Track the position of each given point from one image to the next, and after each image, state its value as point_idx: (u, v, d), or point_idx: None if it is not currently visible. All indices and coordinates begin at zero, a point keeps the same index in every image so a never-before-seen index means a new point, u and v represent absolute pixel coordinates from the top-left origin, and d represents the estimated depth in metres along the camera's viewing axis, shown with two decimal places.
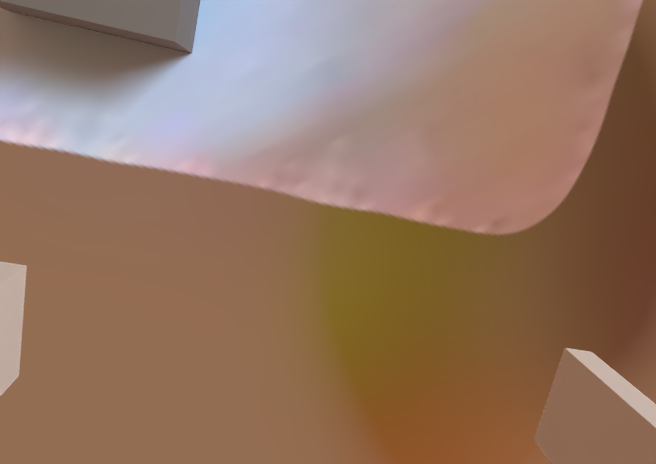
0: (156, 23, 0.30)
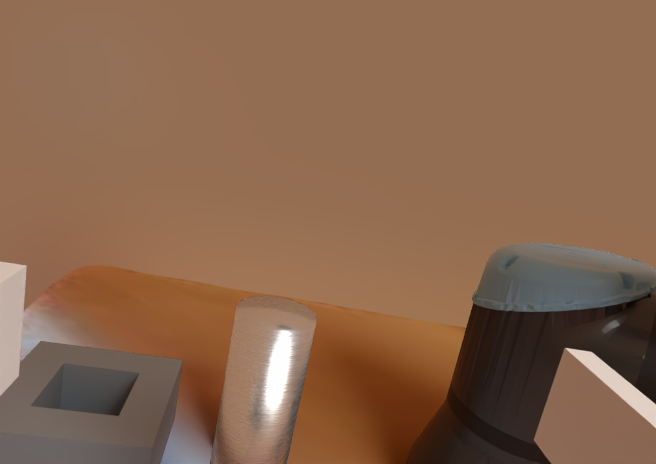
0: None
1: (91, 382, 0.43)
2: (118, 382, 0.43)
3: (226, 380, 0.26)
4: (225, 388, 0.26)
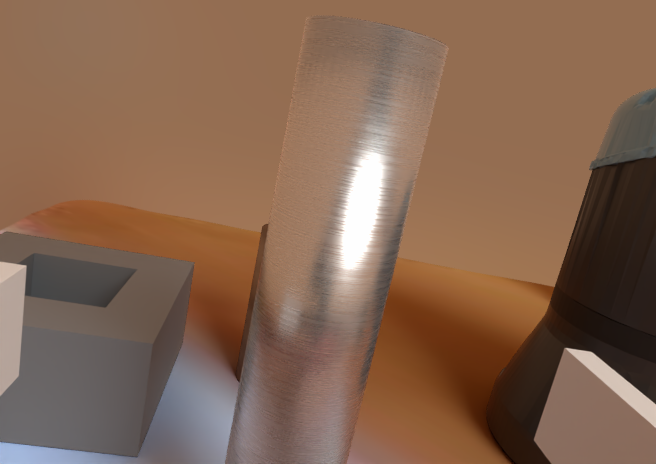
0: None
1: (71, 282, 0.32)
2: (107, 281, 0.32)
3: (286, 155, 0.14)
4: (284, 170, 0.15)
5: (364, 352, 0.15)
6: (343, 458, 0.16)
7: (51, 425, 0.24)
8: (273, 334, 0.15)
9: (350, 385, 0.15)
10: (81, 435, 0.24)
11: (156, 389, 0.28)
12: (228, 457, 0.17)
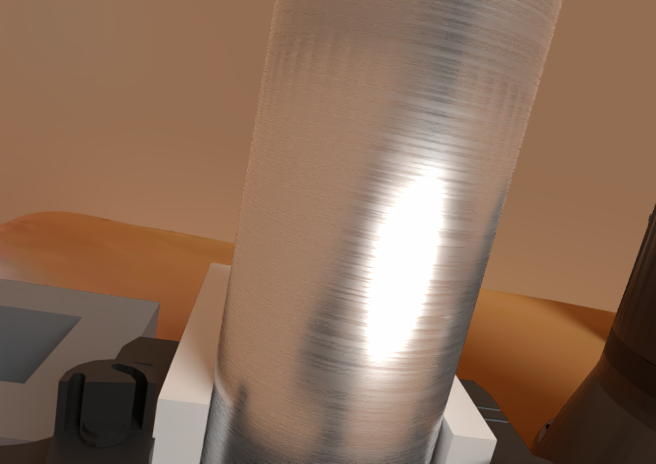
0: None
1: None
2: (44, 333, 0.25)
3: (247, 210, 0.08)
4: (244, 238, 0.08)
5: None
6: None
7: None
8: None
9: None
10: None
11: None
12: None
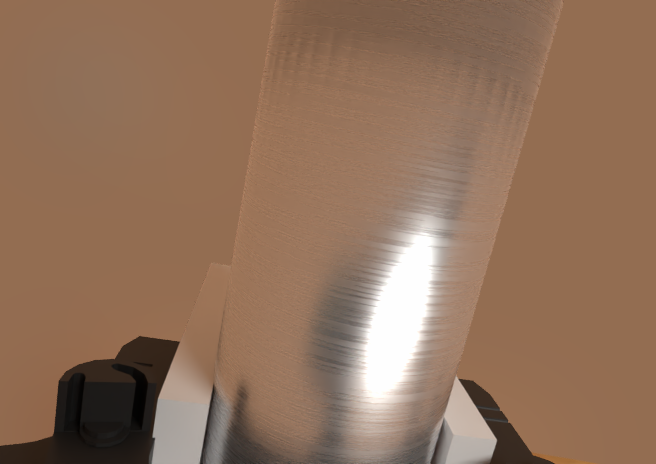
0: None
1: None
2: None
3: (247, 210, 0.08)
4: (243, 239, 0.08)
5: None
6: None
7: None
8: None
9: None
10: None
11: None
12: None
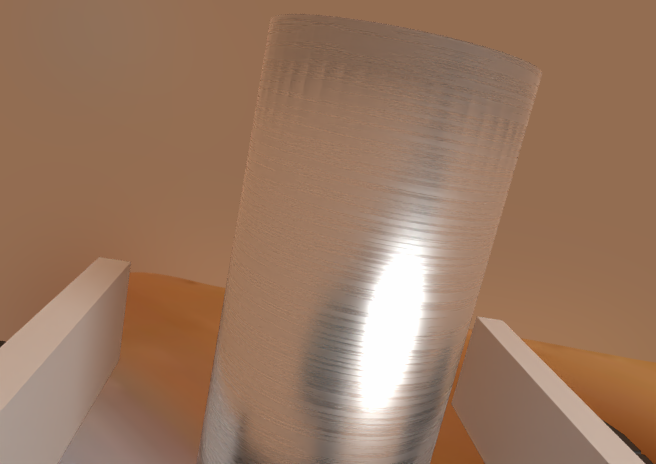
0: None
1: None
2: None
3: (234, 275, 0.08)
4: (231, 302, 0.08)
5: None
6: None
7: None
8: None
9: None
10: None
11: None
12: None
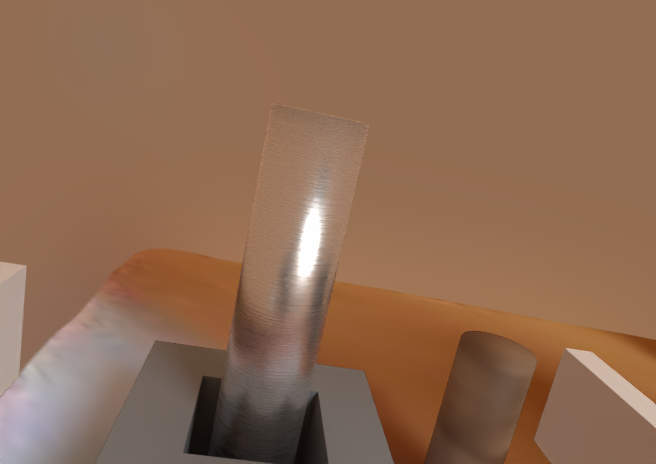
0: None
1: None
2: None
3: (257, 196, 0.21)
4: (256, 207, 0.21)
5: (313, 334, 0.22)
6: (300, 412, 0.23)
7: None
8: (248, 321, 0.21)
9: (303, 357, 0.22)
10: None
11: None
12: (217, 412, 0.23)
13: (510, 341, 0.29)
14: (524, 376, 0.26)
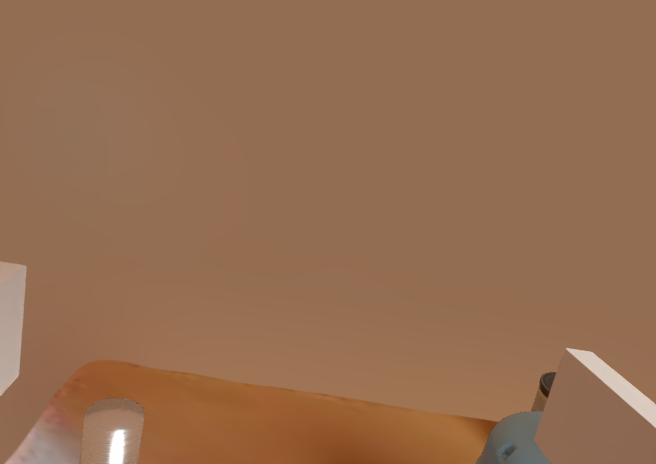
0: None
1: None
2: None
3: None
4: None
5: None
6: None
7: None
8: None
9: None
10: None
11: None
12: None
13: None
14: None
